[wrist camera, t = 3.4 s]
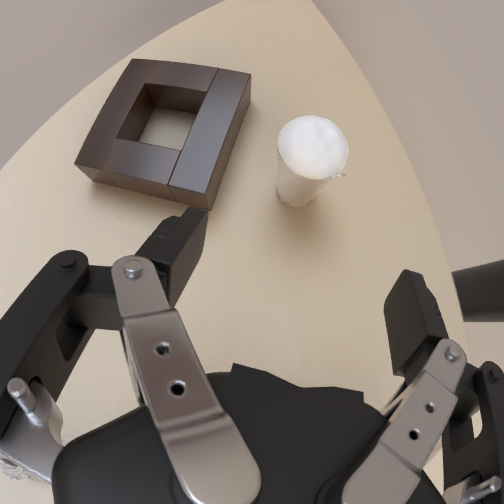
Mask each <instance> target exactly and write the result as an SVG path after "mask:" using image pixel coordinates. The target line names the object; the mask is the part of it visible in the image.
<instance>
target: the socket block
mask: <svg viewBox="0 0 504 504" xmlns="http://www.w3.org/2000/svg"><path fill="white" fill-rule="evenodd" d="M250 98H251V74H247V73H242V72H237V71H232V70H226V69H220V68H215V67H209V66H202V65H195V64H187V63H179V62H170V61H158V60H146V59H132V60H131V61H130V63H129V64H128V66H127V67H126V69H125V70H124V72H123V73H122V75H121V77H120V78H119V80H118V81H117V83H116V85H115V86H114V88H113V90H112V91H111V93H110V95H109V97H108V98H107V100H106V102H105V104H104V105H103V107H102V109H101V111H100V113H99V114H98V116H97V118H96V120H95V122H94V124H93V126H92V128H91V130H90V132H89V133H88V135H87V137H86V139H85V142H84V144H83V146H82V148H81V150H80V152H79V154H78V156H77V158H76V161H75V163H74V164H75V165H76V166H77V167H78V168H79V169H80V170H81V171H82V172H83V173H85V174H86V175H87V176H88V177H89V178H90V179H91V180H92V181H95V182H99V183H103V184H107V185H111V186H115V187H119V188H123V189H127V190H131V191H135V192H139V193H143V194H147V195H151V196H155V197H159V198H163V199H166V200H170V201H174V202H179V203H182V204H186V205H190V206H194V207H197V208H201V209H205V210H208V211H211V209H212V206H213V203H214V200H215V197H216V194H217V191H218V188H219V185H220V182H221V180H222V177H223V174H224V171H225V168H226V165H227V162H228V160H229V157H230V154H231V151H232V148H233V146H234V143H235V140H236V137H237V135H238V132H239V129H240V126H241V124H242V121H243V118H244V116H245V113H246V110H247V108H248V105H249V103H250ZM154 107H160V108H166V109H172V110H178V111H184V112H189V113H195V114H197V116H196V118H195V120H194V122H193V125H192V127H191V129H190V132H189V134H188V136H187V139H186V141H185V143H184V146H183V148H182V150H181V151H180V150H175V149H170V148H166V147H161V146H156V145H151V144H146V143H140V142H138V140H139V138H140V136H141V134H142V132H143V130H144V127H145V125H146V123H147V121H148V119H149V117H150V115H151V113H152V111H153V109H154Z"/></svg>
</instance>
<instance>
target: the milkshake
mask: <svg viewBox="0 0 504 504" xmlns="http://www.w3.org/2000/svg"><path fill="white" fill-rule="evenodd" d="M277 146H278V170H277V189H276V190H277V192H278V195H279V197H280V200H281V201H282V202H283V203H285V204H287V205H288V206H290V207H304V206H305V205H307V204H308V203H309V202H311V201H312V200H313V199H314V198H315V197H316V196H317V194H318V193H319V192H320V191H321V190H322V189H323V188H324V186H325V185H326V184H327V183H328V182H329V181H330V180H331V179H332V178H333V177H341V176H344V175H346V174H337V173H338V172H339V171H340V170H341V169H342V168H343V167H344V165H345V163H346V161H347V158H348V144H347V141H346V139H345V137H344V134H343V133H342V131H341V130H340V128H339V127H338V126H337V125H336V124H335V123H334V122H332V121H331V120H328V119H326V118H322V117H319V116H315V115H306V116H301V117H297V118H294V119H292V120H291V121H289V122H288V123H287V124H286V125H285V126H284V127H283V128H282V129H281V131H280V133H279V135H278V140H277Z"/></svg>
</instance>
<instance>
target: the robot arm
mask: <svg viewBox="0 0 504 504" xmlns="http://www.w3.org/2000/svg"><path fill="white" fill-rule="evenodd" d="M207 221H208V211H204V210H201V209H197V208H193V207H188V209H187V210H186V211H185V212H184V214H183V215H182V216H181V217H177V216H174V215H173V216H171V217H169V218H167V219H165V220H163V221H162V222H161V223H160V224H159V226H158V227H157V229H155V230H154V232H153V233H152V235H150V236H149V238H148V239H147V240H146V241H145V242H144V244H143V245H142V246H141V247H140V249H139V250H138V251H137V252H136V254H135V255H130V256H125V257H122V258H120V259H118V260H117V261H116V262H115V263H114V264H113V266H111V267H107V266H93V265H89V263H88V258H87V256H86V255H85V254H84V253H82V252H80V251H76V250H66V251H62V252H60V253H58V254H56V255H54V256H53V257H52V258H51V259H50V260H49V261H48V263H47V264H46V265H45V266H44V267H43V268H42V269H41V270H40V272H39V273H38V274H37V275H36V276H35V277H34V279H33V280H32V281H31V282H30V283H29V284H28V286H27V287H26V288H25V289H24V291H23V292H22V293H21V294H20V295H19V297H18V298H17V299H16V300H15V302H14V303H13V304H12V305H11V307H10V308H9V309H8V311H7V312H6V313H5V314H4V316H3V317H2V318H1V320H0V459H1V460H2V461H4V462H5V463H7V464H9V465H11V466H19V467H21V468H23V469H24V470H26V471H28V472H29V473H31V474H33V475H35V476H36V477H38V478H40V479H42V480H43V481H45V482H47V483H49V484H51V485H52V491H53V497H54V504H504V373H503V371H502V370H501V369H500V367H499V366H498V365H497V364H495V363H494V362H491V361H486V362H484V363H483V364H482V365H481V367H479V368H477V367H475V366H473V365H471V364H469V363H467V358H466V354H465V352H464V350H463V349H462V348H461V346H460V345H459V344H457V343H456V342H455V341H453V340H451V339H449V337H448V334H447V331H446V327H445V324H444V321H443V318H442V317H441V313H440V310H439V309H438V308H439V307H438V304H437V301H436V298H435V297H434V296H433V294H432V293H431V291H430V290H429V289H428V288H427V286H426V284H425V281H424V278H423V276H422V274H419V273H416V272H413V271H410V270H407V269H405V270H403V271H402V273H401V274H400V276H399V278H398V279H397V281H396V283H395V284H394V286H393V288H392V290H391V291H390V293H389V295H388V296H387V298H386V301H385V304H384V316H385V321H386V327H387V333H388V340H389V346H390V353H391V360H392V368H393V375H396V376H402V377H405V381H404V382H403V383H402V384H401V385H400V386H399V387H398V389H397V390H396V392H395V393H394V394H393V396H392V397H391V398H390V400H389V401H388V402H387V404H386V405H385V406H384V407H383V409H382V410H381V411H380V412H379V411H378V410H376V409H375V408H373V407H372V406H370V405H368V404H366V403H364V395H363V392H361V391H355V390H349V389H344V388H338V387H309V388H303V387H298V386H296V385H294V384H292V383H289V382H287V381H285V380H283V379H281V378H279V377H277V376H275V375H273V374H271V373H268V372H266V371H262V370H258V369H254V368H250V367H247V366H243V365H239V364H236V363H233V366H232V369H231V372H214V373H208V374H205V372H204V369H203V367H202V365H201V363H200V361H199V358H198V356H197V354H196V352H195V350H194V347H193V345H192V343H191V340H190V338H189V336H188V333H187V331H186V329H185V326H184V324H183V322H182V319H181V317H180V315H179V312H178V311H177V309H176V308H174V307H175V305H176V303H177V301H178V299H179V297H180V295H181V293H182V291H183V289H184V288H185V286H186V284H187V282H188V280H189V278H190V276H191V274H192V273H193V271H194V269H195V267H196V265H197V263H198V261H199V259H200V257H201V254H202V251H203V246H204V240H205V234H206V227H207ZM95 329H106V330H117V331H119V334H120V338H121V342H122V346H123V350H124V354H125V358H126V362H127V365H128V369H129V373H130V377H131V381H132V385H133V389H134V392H135V396H136V399H137V402H138V405H139V407H138V408H136V409H134V410H132V411H130V412H128V413H126V414H124V415H122V416H120V417H118V418H117V419H115V420H113V421H110V422H108V423H106V424H104V425H102V426H100V427H98V428H96V429H94V430H92V431H90V432H88V433H86V434H84V435H81V436H79V437H77V438H75V439H73V440H72V441H70V442H69V443H68V444H67V445H65V446H64V447H63V446H62V443H61V438H60V433H61V428H62V424H63V417H62V413H61V411H60V409H59V408H58V406H57V404H56V401H57V399H58V397H59V395H60V393H61V391H62V389H63V387H64V385H65V384H66V382H67V380H68V378H69V376H70V374H71V372H72V370H73V368H74V366H75V365H76V363H77V361H78V359H79V357H80V355H81V354H82V352H83V350H84V348H85V346H86V345H87V343H88V341H89V339H90V337H91V336H92V334H93V332H94V331H95ZM478 410H480V412H481V418H482V425H483V426H482V431H481V433H480V434H479V436H478V437H477V438H475V439H474V433H473V426H472V419H471V416H472V415H474V414H475V413H476V412H477V411H478ZM441 434H442V448H443V468H444V469H443V471H444V493H443V495H442V496H441V494H440V493H439V491H438V490H437V489H436V487H435V486H434V484H433V483H432V482H431V480H430V479H429V477H428V476H427V475H426V473H425V472H424V470H423V469H422V468H423V467H424V465H425V463H426V462H427V460H428V458H429V456H430V455H431V453H432V451H433V449H434V447H435V446H436V444H437V442H438V440H439V438H440V436H441Z"/></svg>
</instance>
